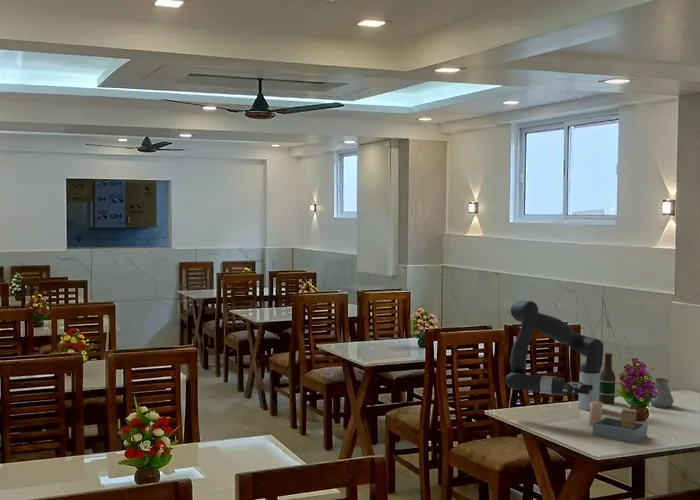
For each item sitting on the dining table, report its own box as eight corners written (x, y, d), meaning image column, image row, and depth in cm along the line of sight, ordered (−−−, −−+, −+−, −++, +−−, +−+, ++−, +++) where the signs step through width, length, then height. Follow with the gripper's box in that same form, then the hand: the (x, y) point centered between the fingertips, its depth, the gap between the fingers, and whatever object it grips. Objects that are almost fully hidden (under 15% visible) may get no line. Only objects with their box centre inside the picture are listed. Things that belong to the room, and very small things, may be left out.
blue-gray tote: (604, 428, 349) (605, 417, 348) (646, 436, 338) (647, 424, 338) (592, 435, 338) (593, 423, 337) (635, 443, 327) (636, 431, 327)
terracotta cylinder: (592, 423, 358) (592, 400, 357) (603, 425, 355) (604, 402, 354) (587, 425, 354) (588, 402, 353) (599, 427, 351) (599, 404, 350)
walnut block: (622, 432, 339) (623, 408, 339) (635, 433, 337) (636, 409, 336) (620, 434, 335) (621, 410, 334) (633, 436, 332) (634, 412, 332)
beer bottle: (617, 402, 398) (619, 353, 397) (610, 405, 393) (612, 355, 391) (602, 399, 403) (604, 351, 402) (595, 402, 398) (597, 353, 397)
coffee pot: (660, 402, 401) (661, 371, 401) (678, 407, 391) (680, 376, 390) (627, 405, 392) (628, 374, 391) (645, 411, 382) (646, 379, 381)
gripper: (548, 379, 348) (588, 384, 341) (556, 374, 361) (594, 378, 354) (548, 397, 348) (587, 401, 341) (555, 390, 361) (593, 395, 354)
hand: (590, 389), depth 347 cm, fingers open, 8 cm apart
